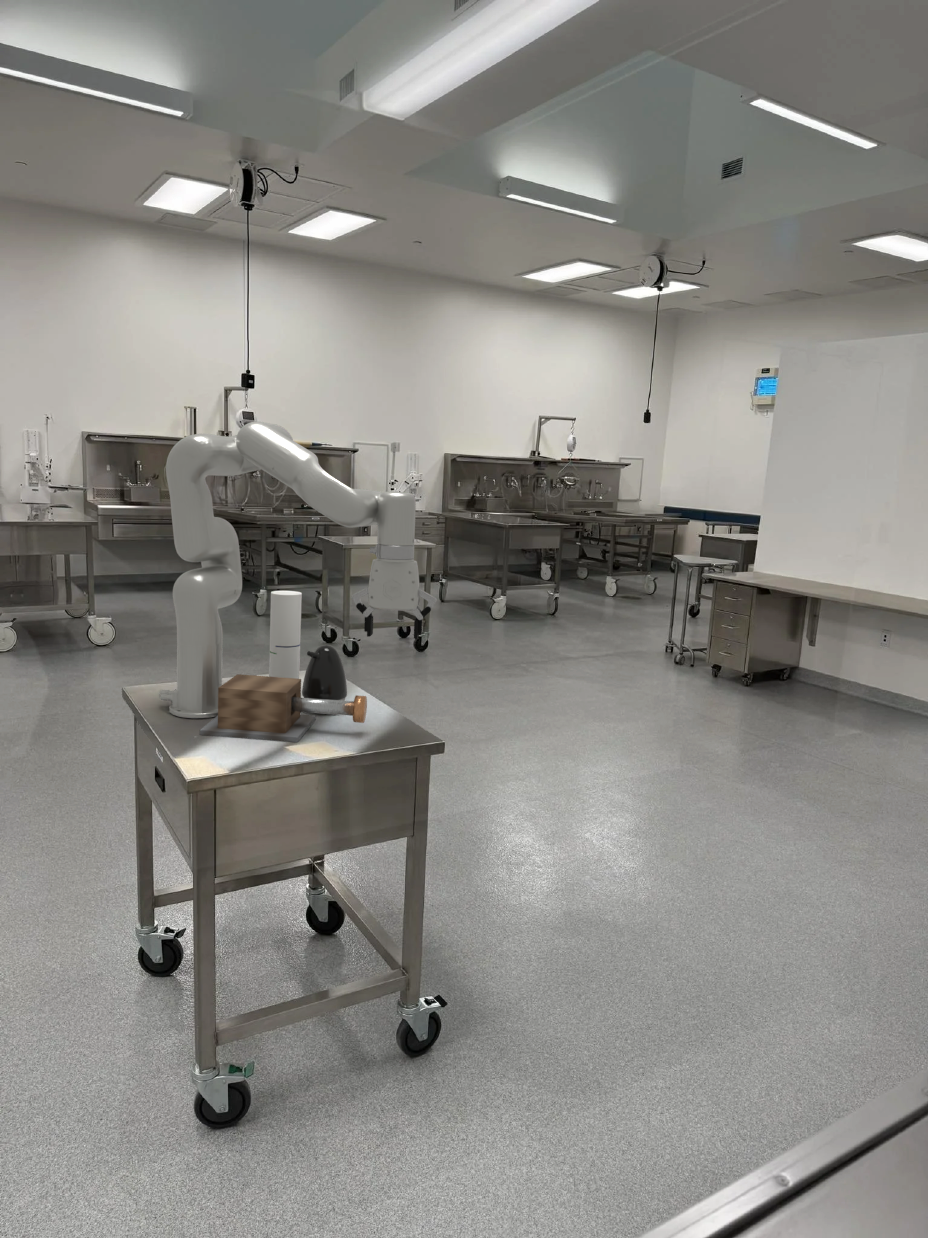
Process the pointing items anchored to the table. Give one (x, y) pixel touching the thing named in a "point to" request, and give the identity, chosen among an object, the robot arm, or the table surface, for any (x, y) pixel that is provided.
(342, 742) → the table surface
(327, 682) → the black rounded figure
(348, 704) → the shaft
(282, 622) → the cylindrical container
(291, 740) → the block
